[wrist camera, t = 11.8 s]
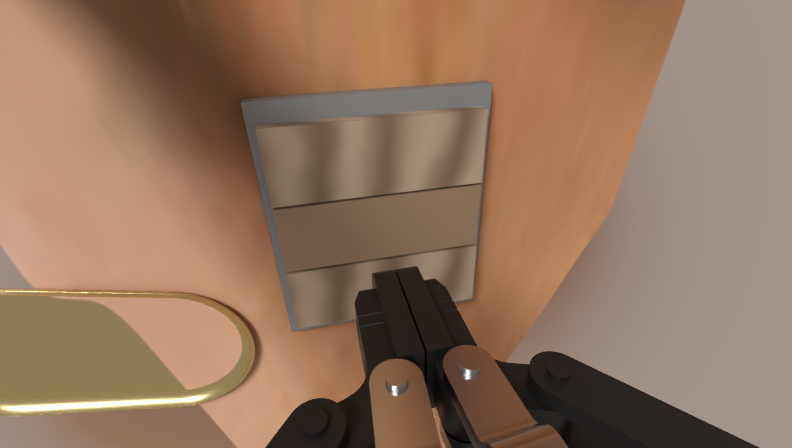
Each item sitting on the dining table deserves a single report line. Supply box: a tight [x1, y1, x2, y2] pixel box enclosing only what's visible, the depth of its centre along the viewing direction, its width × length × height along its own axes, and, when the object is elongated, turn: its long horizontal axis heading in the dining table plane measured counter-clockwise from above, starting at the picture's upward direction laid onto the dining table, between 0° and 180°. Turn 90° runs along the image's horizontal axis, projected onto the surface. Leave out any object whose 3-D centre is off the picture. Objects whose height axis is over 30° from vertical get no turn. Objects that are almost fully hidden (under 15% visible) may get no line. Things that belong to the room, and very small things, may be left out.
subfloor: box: [240, 81, 493, 332], centre depth 43 cm, size 24×28×3 cm
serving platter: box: [0, 289, 255, 416], centre depth 45 cm, size 19×35×2 cm, turn 79°
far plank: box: [286, 244, 476, 329], centre depth 46 cm, size 22×8×2 cm, turn 92°
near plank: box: [255, 106, 488, 208], centre depth 39 cm, size 22×8×2 cm, turn 92°
